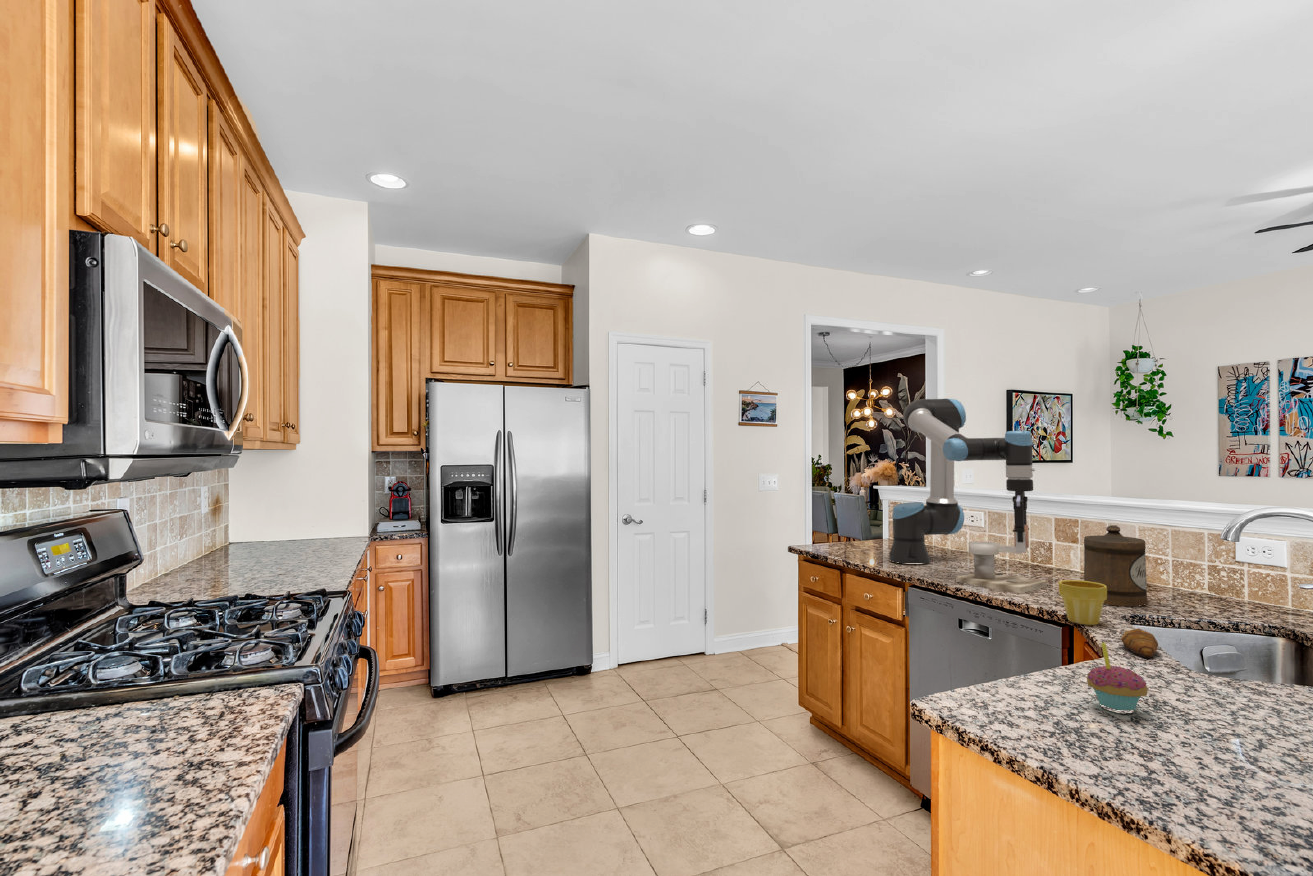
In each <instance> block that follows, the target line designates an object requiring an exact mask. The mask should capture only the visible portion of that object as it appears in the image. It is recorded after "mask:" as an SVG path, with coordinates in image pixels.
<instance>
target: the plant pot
mask: <svg viewBox="0 0 1313 876" xmlns="http://www.w3.org/2000/svg"><path fill="white" fill-rule="evenodd" d="M1058 595H1059V596H1061V598H1062V601H1063V606H1064V610H1065V614H1066V617H1067V620H1068V621H1069V622H1072V623H1073V624H1078V625H1086V626H1096V625H1098V624H1100V619H1101V615H1102V611H1103V606H1104V604H1103V603H1104V600H1106V599H1107V586H1106V585H1104V584H1100V583H1096V582H1089V581H1084V580H1077V579H1076V580H1075V579H1071V580H1069V579H1065V580H1060V581H1058Z"/></svg>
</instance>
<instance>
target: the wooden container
mask: <svg viewBox="0 0 1313 876" xmlns="http://www.w3.org/2000/svg"><path fill="white" fill-rule="evenodd" d="M1105 529H1106V534H1104V535H1085V536H1084V537H1083V548H1084V549H1083V557H1084V558H1083V565H1084V566H1083V581H1089V582H1096V583H1100V584H1104V585H1106V586H1107V599H1106V600H1104V603H1103V605H1105V604H1108V605H1107V606H1112V605H1114V606H1113V607H1121V606H1139V605H1144V604H1147V605H1148V592H1147V591H1148V590H1147V589H1148V588H1147V587H1148V585H1147V582H1148V581H1147V579H1148V578H1147V561H1146V540H1145V539H1142V538H1138V537H1132V536H1131V537H1130V536H1124V535H1123V534H1121V533H1120V531H1121V527H1119V526H1118V525H1114V524H1113V525H1108V526H1106V527H1105ZM1144 606H1145V605H1144ZM1139 607H1140V606H1139Z"/></svg>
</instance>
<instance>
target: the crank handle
mask: <svg viewBox="0 0 1313 876" xmlns="http://www.w3.org/2000/svg"><path fill="white" fill-rule="evenodd" d="M1014 528H1015V524H1013V530H1015V529H1014ZM1028 528H1029V525H1028V524H1027V525H1024V529H1025V531H1024V532H1025V541H1026V548H1027V549H1028V548H1030V545H1029V540H1030V539H1029V530H1028ZM1013 538H1014V539H1013V540H1014V542H1013V543H1014V545H1006V544H1005V545H1003V544H999V543H998V542H997V543H996V542H991V541H990V542H989V541H970V542H968V553H969V554H972V555H974V554H980V555H994V556H995V555H999V554H1000V553H1007V554H1019V555H1020V554H1023V553H1020V552H1016V539H1015V532H1013Z"/></svg>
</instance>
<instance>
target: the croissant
mask: <svg viewBox="0 0 1313 876" xmlns="http://www.w3.org/2000/svg"><path fill="white" fill-rule="evenodd" d="M1120 641H1121V642H1122V645H1124V647H1125V648H1126V649H1127V650H1129V651H1131V650H1132V651H1131V652H1133V653H1134V654H1135V655H1138V656H1139V655H1140V657H1142V656H1143V657H1142V658H1146V659H1150V658H1151V659H1152V658H1154V655H1155V654H1156V653H1157V651H1158V646H1159V642H1158V641H1157V639H1156V637H1155V635H1154V634H1153V633H1151V632H1148V631H1146V630H1144V629H1141V628H1133V629H1130V630H1126V631H1124V632H1123V634H1122V635H1121V638H1120Z"/></svg>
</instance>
